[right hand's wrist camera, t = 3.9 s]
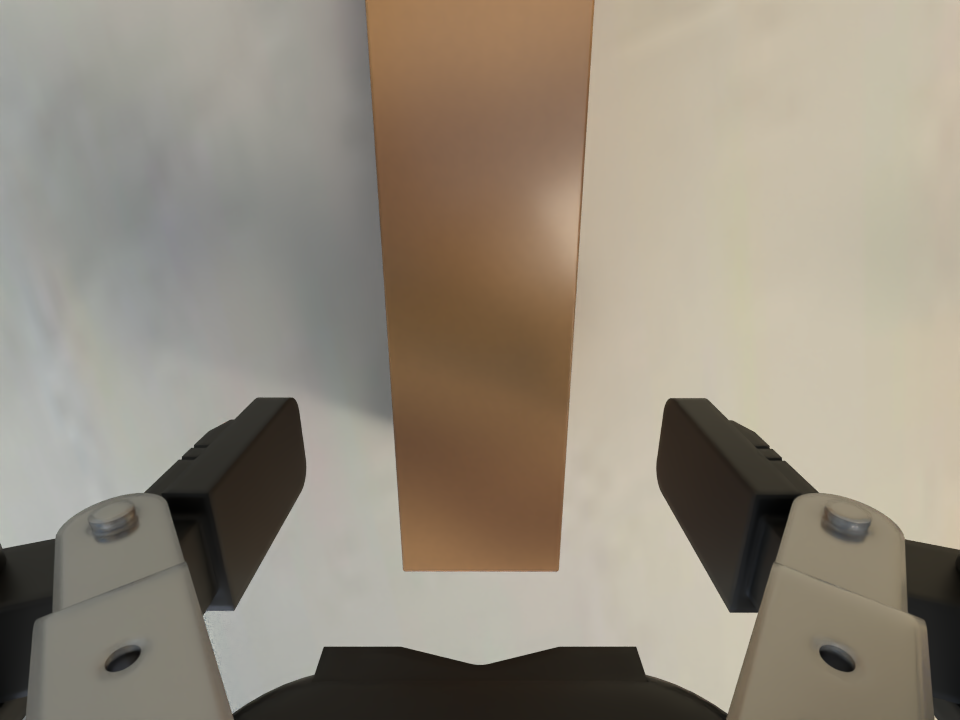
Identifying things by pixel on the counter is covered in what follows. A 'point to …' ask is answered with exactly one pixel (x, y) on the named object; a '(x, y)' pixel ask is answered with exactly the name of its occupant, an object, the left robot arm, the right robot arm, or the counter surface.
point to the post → (480, 267)
